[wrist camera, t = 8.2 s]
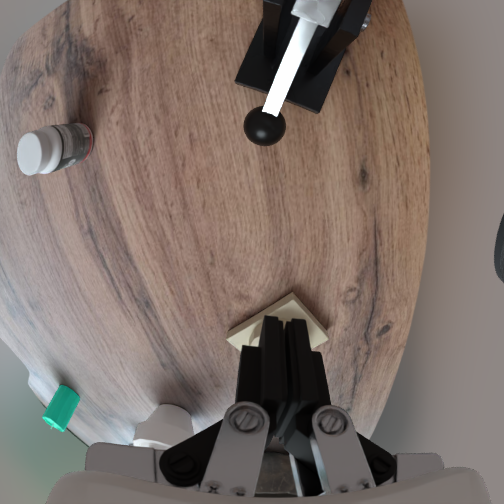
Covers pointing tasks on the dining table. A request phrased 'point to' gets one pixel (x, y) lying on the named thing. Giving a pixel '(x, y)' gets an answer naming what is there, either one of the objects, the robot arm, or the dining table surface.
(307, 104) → the bracket
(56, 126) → the pill bottle
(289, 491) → the bowl
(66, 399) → the candle
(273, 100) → the lever
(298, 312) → the button box
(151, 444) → the potted plant
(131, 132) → the dining table surface
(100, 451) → the robot arm
